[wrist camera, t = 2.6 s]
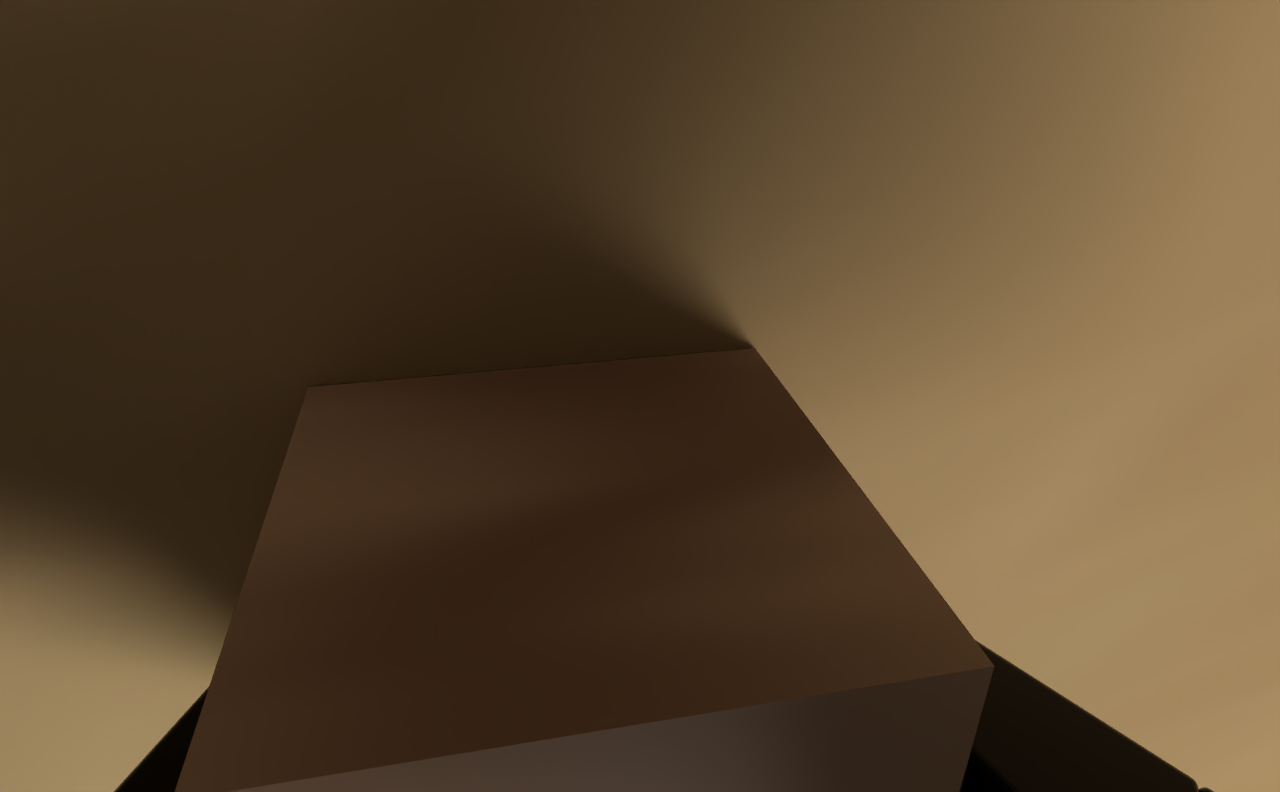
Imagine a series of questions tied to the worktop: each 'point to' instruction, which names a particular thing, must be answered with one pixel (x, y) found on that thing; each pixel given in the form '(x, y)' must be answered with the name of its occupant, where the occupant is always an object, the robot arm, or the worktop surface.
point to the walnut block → (582, 599)
